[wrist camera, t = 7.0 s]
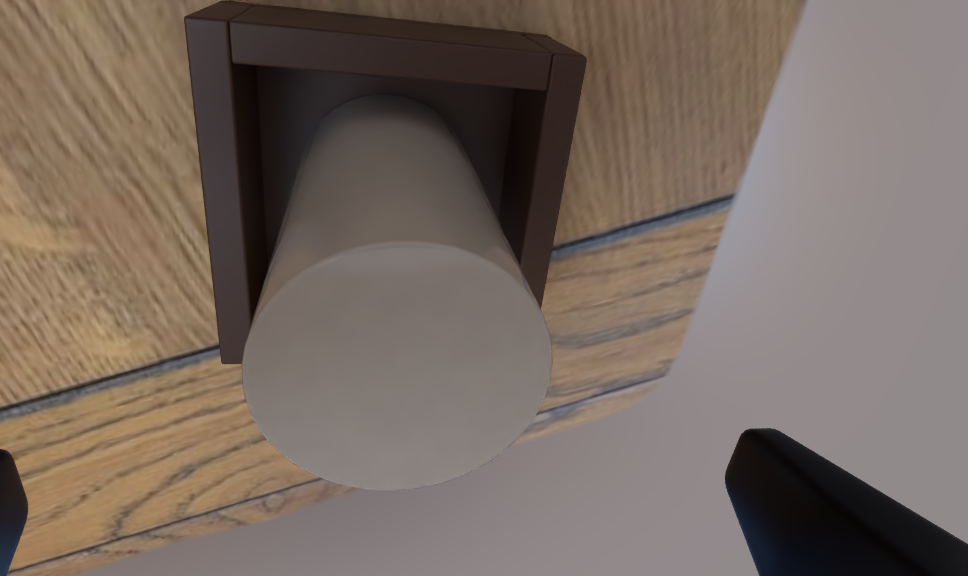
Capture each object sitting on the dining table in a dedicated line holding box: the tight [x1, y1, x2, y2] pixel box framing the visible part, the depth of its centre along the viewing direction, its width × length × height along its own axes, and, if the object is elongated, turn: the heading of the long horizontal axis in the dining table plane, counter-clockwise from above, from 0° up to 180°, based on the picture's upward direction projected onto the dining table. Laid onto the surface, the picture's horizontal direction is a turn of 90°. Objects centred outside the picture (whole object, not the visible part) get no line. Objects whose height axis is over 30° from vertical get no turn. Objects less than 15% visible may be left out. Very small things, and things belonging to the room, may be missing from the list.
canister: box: [242, 95, 552, 490], centre depth 13 cm, size 5×5×9 cm
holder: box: [184, 0, 587, 364], centre depth 16 cm, size 8×8×4 cm
